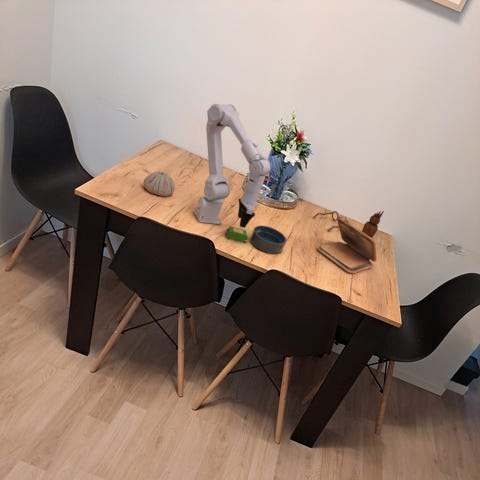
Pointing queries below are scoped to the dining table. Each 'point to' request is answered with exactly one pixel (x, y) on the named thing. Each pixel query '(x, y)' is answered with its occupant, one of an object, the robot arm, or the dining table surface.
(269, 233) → the bowl
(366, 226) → the wooden figurine
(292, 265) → the dining table surface
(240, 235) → the green box
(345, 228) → the case
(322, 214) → the glasses
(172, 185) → the sea urchin shell
